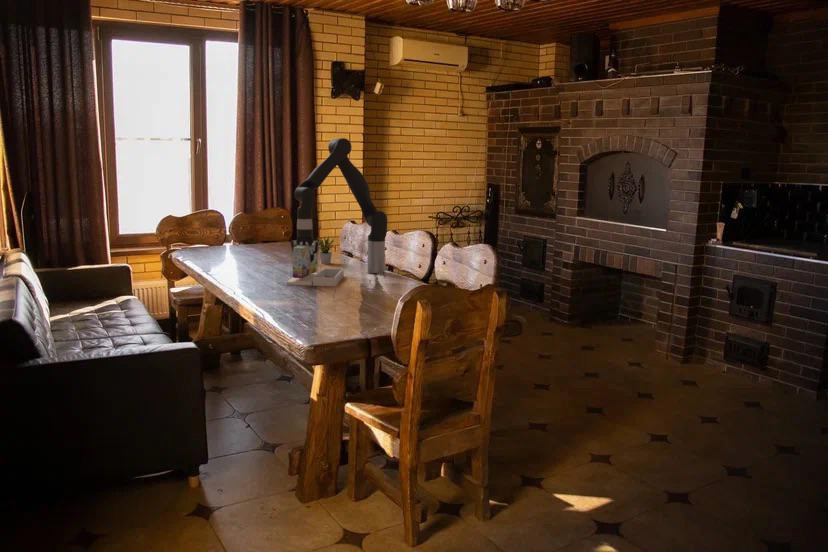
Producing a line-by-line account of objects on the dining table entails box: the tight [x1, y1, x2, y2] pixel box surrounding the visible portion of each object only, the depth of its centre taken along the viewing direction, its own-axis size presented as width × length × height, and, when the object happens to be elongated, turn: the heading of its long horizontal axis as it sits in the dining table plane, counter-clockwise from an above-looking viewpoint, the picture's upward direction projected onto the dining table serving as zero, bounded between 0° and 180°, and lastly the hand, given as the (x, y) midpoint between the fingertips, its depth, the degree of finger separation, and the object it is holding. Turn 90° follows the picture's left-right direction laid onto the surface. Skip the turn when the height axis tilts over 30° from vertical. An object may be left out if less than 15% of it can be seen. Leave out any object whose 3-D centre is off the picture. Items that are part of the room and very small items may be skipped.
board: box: [286, 272, 318, 286], centre depth 347 cm, size 12×26×2 cm, turn 176°
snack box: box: [292, 243, 318, 278], centre depth 345 cm, size 21×6×15 cm, turn 169°
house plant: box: [317, 235, 338, 265], centre depth 395 cm, size 14×14×16 cm
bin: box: [312, 267, 345, 287], centre depth 346 cm, size 11×26×4 cm, turn 176°
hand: (305, 261), depth 345 cm, fingers closed on snack box, 6 cm apart
